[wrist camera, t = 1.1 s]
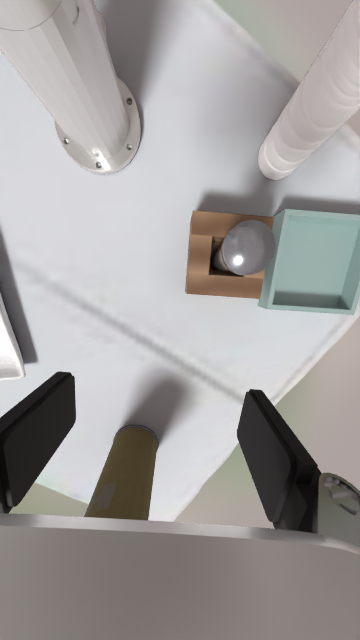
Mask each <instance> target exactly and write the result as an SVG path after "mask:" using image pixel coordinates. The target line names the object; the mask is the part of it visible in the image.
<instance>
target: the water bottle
mask: <svg viewBox="0 0 360 640" xmlns="http://www.w3.org/2000/svg"><path fill="white" fill-rule="evenodd" d="M359 109H360V0H353V1H352V2H351V4H350V6H349V8H348V9H347V11H346V12H345V14H344V15H343V17H342V18H341V20H340V22H339V23H338V25H337V26H336V28H335V29H334V31H333V33H332V34H331V36H330V38H329V39H328V41H327V42H326V44H325V45H324V47H323V48H322V50H321V51H320V53H319V54H318V56H317V57H316V59H315V60H314V62H313V64H312V66H311V67H310V70H309V71H308V72H307V74H306V75H305V76H304V78H303V80H302V81H301V83H300V84H299V86H298V88H297V90H296V91H295V92H294V94H293V95H292V97H291V99H290V101H289V102H288V104H287V105H286V107H285V108H284V110H283V111H282V113H281V115H280V117H279V118H278V120H277V121H276V123H275V124H274V126H273V127H272V129H271V131H270V132H269V134H268V135H267V137H266V138H265V140H264V141H263V143H262V145H261V147H260V150H259V154H258V164H259V168H260V170H261V171H262V173H263V175H264V176H266V177H267V178H269V179H273V180H279V179H282V178H284V177H286V176H288V175H289V174H290V173H291V172H292V171H294V170H295V169H296V168H297V167H298V166H299V165H300V164H301V163H302V162H303V161H304V160H305V159H306V158H307V157H308V156H309V155H310V154H312V153H313V152H314V151H315V150H316V149H317V148H318V147H319V146H320V145H321V144H322V143H323V142H325V141H326V140H327V139H328V138H329V137H330V136H331V134H333V133H334V132H335V131H336V130H337V129H339V128H340V127H341V126H342V125H343V124H344V123H345V122H346V121H347V119H349V118H350V117H351V116H352V115H354V114H355V113H356V112H357V111H358V110H359Z"/></svg>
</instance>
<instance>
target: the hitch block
mask: <svg viewBox="0 0 360 640" xmlns="http://www.w3.org/2000/svg"><path fill="white" fill-rule="evenodd" d="M247 220H257V221H260V222H262V223H264V224H266V225H267V226H268V227H269V228H270V229H271V231H272V227H273V222H274V217H265V216H253V215H241V214H228V213H216V212H204V211H193V213H192V217H191V222H190V236H189V249H188V262H187V276H186V289H185V292H186V294H198V295H212V296H227V297H242V298H256V299H260V296H261V291H262V285H263V279H264V273H265V269H263V270H262V271H260V272H258V273H256V274H253V275H238V274H235V273H233V272H231V271H223V272H220V271H217V270H215V269H214V268H213V267H212V264H211V256H212V254H213V252H214V251H215V250H217V249H218V248H219V247H221V246H222V243H223V241H224V238H225V237H226V235H227V234H228V232H229V231H230V230H232V229H233V228H234V227H235V226H236V225H238V224H239V223H241V222H243V221H247Z"/></svg>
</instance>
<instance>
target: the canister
mask: <svg viewBox="0 0 360 640" xmlns="http://www.w3.org/2000/svg"><path fill="white" fill-rule="evenodd" d="M157 449H158V440H157V437H156V435H155V434H154V433H153V432H152V431H151V430H150V429H148V428H146V427H144V426H139V425H130V426H126V427H124V428H122V429H121V430H119V431H118V432H117V433H116V435H115V437H114V440H113V445H112V447H111V450H110V452H109V455H108V458H107V460H106V463H105V465H104V468H103V470H102V473H101V475H100V478H99V480H98V483H97V486H96V488H95V491H94V493H93V496H92V498H91V501H90V503H89V506H88V508H87V511H86V514H85V516H84V517H92V518H111V519H129V520H147V521H148V517H149V508H150V500H151V492H152V484H153V476H154V468H155V459H156V452H157Z"/></svg>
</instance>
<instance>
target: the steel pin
mask: <svg viewBox="0 0 360 640" xmlns="http://www.w3.org/2000/svg"><path fill="white" fill-rule="evenodd" d="M274 253H275V238H274V235H273V233H272V231H271V229H270V228H269V227H268V226H267V225H266V224H264V223H262V222H260V221H257V220H247V221H243V222H241V223H239V224H238V225H236V226H235V227H234V228H233V229H232V230H230V231H229V232H228V234H227V235H226V237H225V238H224V241H223V243H222V246H221V247H219V248H218V249H217V250H215V251H214V252H213V254H212V256H211V264H212V267H213V268H214V269H215V270H217V271H220V272H223V271H231V272H233V273H235V274H238V275H253V274H256V273H258V272H260V271H262V270H263V269H265V268H266V267H267V266H268V264H269V263H270V262H271V260H272V258H273V256H274Z"/></svg>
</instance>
